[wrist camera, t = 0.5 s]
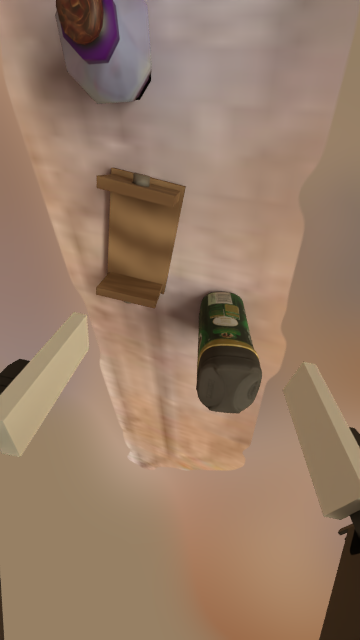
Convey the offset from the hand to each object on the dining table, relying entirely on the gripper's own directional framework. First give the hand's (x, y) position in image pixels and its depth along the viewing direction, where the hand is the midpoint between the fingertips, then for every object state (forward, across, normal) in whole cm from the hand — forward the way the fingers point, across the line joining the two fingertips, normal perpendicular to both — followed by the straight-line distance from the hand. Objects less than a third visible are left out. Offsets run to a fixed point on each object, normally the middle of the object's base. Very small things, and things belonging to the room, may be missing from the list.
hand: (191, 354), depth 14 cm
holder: (+26, -9, -2) cm, 27 cm away
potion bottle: (+26, -13, +16) cm, 33 cm away
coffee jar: (+26, +7, -12) cm, 29 cm away
